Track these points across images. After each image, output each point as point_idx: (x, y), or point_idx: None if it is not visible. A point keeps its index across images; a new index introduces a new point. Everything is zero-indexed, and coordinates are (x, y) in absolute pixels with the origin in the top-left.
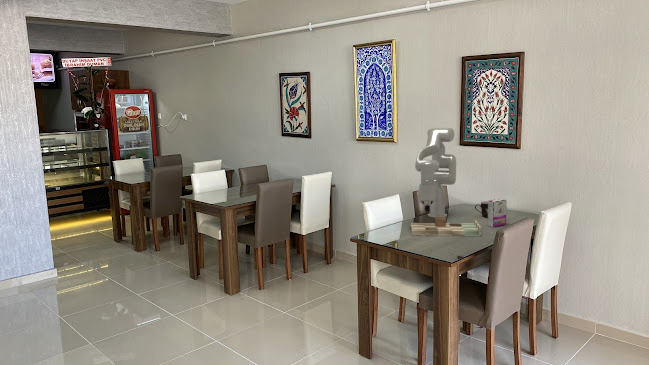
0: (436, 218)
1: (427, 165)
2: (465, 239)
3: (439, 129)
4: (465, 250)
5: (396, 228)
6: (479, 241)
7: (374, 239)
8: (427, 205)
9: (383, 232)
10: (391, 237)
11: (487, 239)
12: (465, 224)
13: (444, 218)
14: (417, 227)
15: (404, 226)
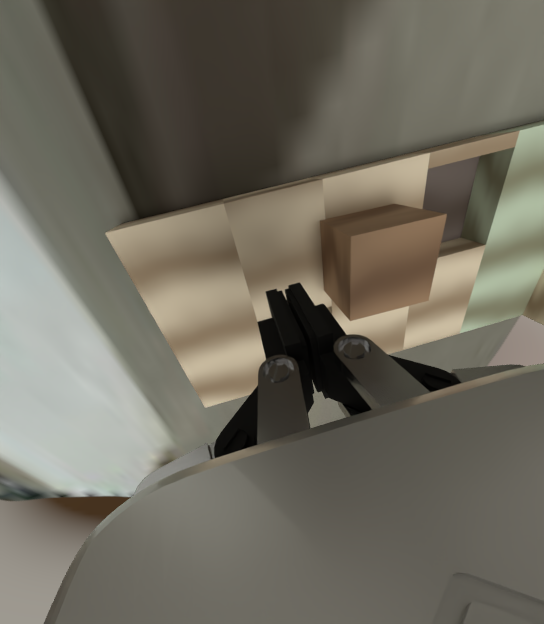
0: (356, 319)
1: None
2: (426, 360)
3: None
4: None
5: (23, 278)
6: (465, 365)
7: (74, 474)
8: (317, 365)
9: (19, 388)
10: (126, 435)
11: (505, 334)
12: (536, 169)
13: (418, 302)
14: (213, 346)
15: (39, 191)
